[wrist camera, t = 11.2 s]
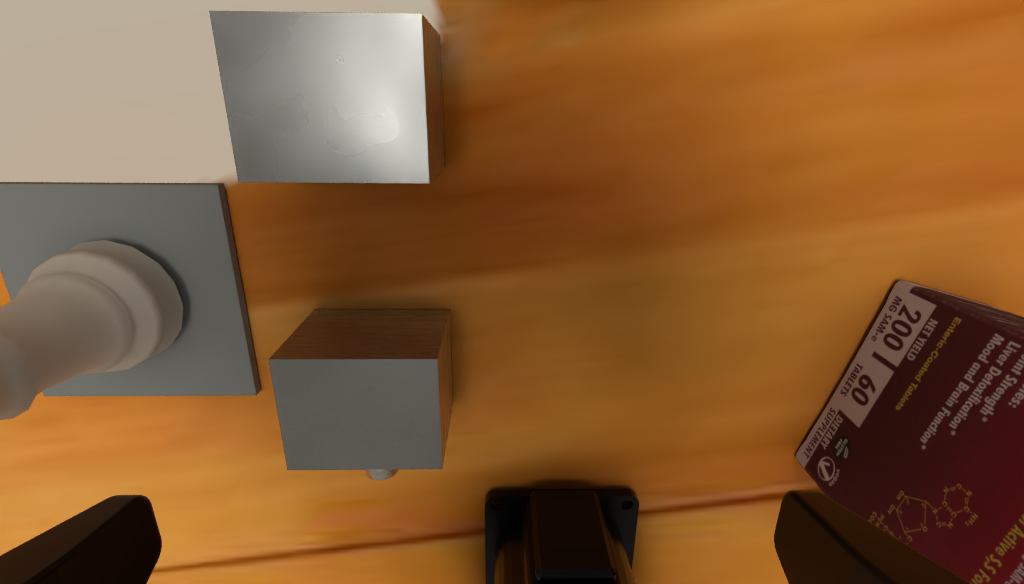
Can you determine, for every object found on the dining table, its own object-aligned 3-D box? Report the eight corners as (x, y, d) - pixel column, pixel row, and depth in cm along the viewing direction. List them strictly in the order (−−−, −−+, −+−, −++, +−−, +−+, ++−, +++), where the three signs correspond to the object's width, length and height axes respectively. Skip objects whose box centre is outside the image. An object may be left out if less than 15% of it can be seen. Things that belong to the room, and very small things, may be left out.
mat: (261, 389, 20) (256, 395, 20) (52, 390, 20) (44, 396, 20) (223, 183, 17) (217, 185, 17) (-18, 182, 17) (-29, 183, 17)
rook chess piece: (173, 371, 19) (-36, 541, 12) (49, 323, 19) (-259, 471, 11) (206, 270, 18) (-5, 388, 10) (74, 214, 17) (-257, 296, 10)
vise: (454, 436, 21) (444, 507, 17) (331, 436, 21) (294, 509, 17) (440, 35, 16) (421, 13, 12) (278, 33, 16) (209, 10, 12)
